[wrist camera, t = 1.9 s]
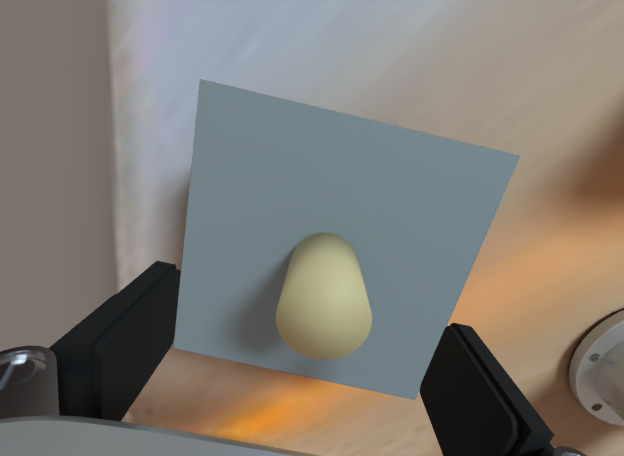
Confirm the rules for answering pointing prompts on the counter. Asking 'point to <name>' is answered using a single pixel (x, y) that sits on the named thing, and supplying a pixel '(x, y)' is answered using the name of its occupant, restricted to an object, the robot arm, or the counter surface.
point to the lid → (327, 239)
